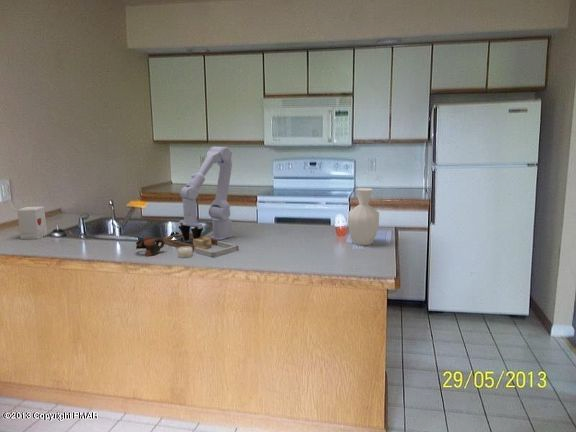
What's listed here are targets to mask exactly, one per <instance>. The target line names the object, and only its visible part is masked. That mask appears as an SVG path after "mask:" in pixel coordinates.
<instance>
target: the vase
mask: <svg viewBox="0 0 576 432" xmlns="http://www.w3.org/2000/svg"><path fill="white" fill-rule="evenodd" d="M355 192H356V196H357V200H358V203H359V204H358V205H356V206H355V207H353V208H352V209H351V210H349V211H348V213H347V225H348V229H349V230H348V231H349V234H350V239H351V241H352V242H353V244H354V245H358V246H370V245H372V244H373V242H374V240H375V239H376V237H377V233H378V230H379V226H380V225H379V224H380V212H379V211H377V210H376V209H375V208H373V207H372V205H370V200H371V197H372V192H373V188H368V187H367V188H365V187H363V188H361V187H358V188H356V189H355Z"/></svg>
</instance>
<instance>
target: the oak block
mask: <svg viewBox="0 0 576 432" xmlns="http://www.w3.org/2000/svg"><path fill="white" fill-rule="evenodd" d="M206 237H207V236H205V237H199V238H195V239H193V240H192V245H194V249H195V248H196V247H198V248H201V249H205V250H208V249H211V248H212V244H211V239H210V238H206Z"/></svg>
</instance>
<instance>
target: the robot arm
mask: <svg viewBox="0 0 576 432" xmlns="http://www.w3.org/2000/svg"><path fill="white" fill-rule="evenodd" d="M232 156H233V152H232V151H231V149H230V148H229V147H228V146H215V145H214V146H211V147H210V148H209V150H208V151H207V152H206V157H205V159H204V160H203V162H202V164H201V166H200V168H199V169H198V172H194V173H192V174H191V178H190V179H189V181H188V182H187V183H186V184H185V186H184V187H182V188H181V189H180V193H179V196H180V198H181V201H182V206H183V207H182V209H183V219H180V220H179V226H178V229H179V230H180V233H181V234H183V237H184V239H183V241H184V242H186V241H189V240H190V239H189V233H190V231H191V233H192V234H193V238H194V239H195V238H199V237H200V236H202V235H201V234H202V233H203V230H204V227H203V223H200V222H198V218H197V217H198V216H197V200H196V199H197V198H198V197H199V191H200V189H201V187H202V185H203V184H204V182H205V181H206V179H205V176H206V175H207V173H208V172H209V170H211V168H213V165H214V164H217V165H218V166H219V172H218V180H217V186H216V192H215V197H214V199H213V201H212V202H211V204H210V207H209V209H208V215H209V217H210V218H211V222H212V223H211V224H212V225H211V226H212V235H211V236H208V237H209V238H213V239H217V241H221V240H225V239H229V238H233V237H235V235H233V234H234V231H233V228H234V227H233V222H232V220H231V219H230V216H231V209H230V206H231V205H230V203H229V202H228V201H227V200H228V194H229V187H230V181H231V174H232V169H233V168H232V167H233V162H232Z"/></svg>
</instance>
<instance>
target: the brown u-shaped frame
mask: <svg viewBox="0 0 576 432" xmlns="http://www.w3.org/2000/svg"><path fill="white" fill-rule="evenodd" d="M176 236H181V237H182V238H183V239H182V240H184V237H183V234H182V233H178V234H174V235H170V236H169V235H168V236H165V237H161V239H163V240H164V242H165V244H164V245H167V246H169V247H170V246H171V247H174V248H177V249H178V248H179V247H183V246H190V247H192V251H193V252H195V248H194V245H193V244H191V243H186V242H182V241H180V240H177V241H175V240H171V239H172V238H173V237H176ZM200 237H206V238H209V237H210V236H205V235H200ZM192 239H194V238H193V234H192V232H189V240H192ZM210 239H211V246H212V245H214V246H218V240H217V239H213V238H210Z"/></svg>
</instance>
